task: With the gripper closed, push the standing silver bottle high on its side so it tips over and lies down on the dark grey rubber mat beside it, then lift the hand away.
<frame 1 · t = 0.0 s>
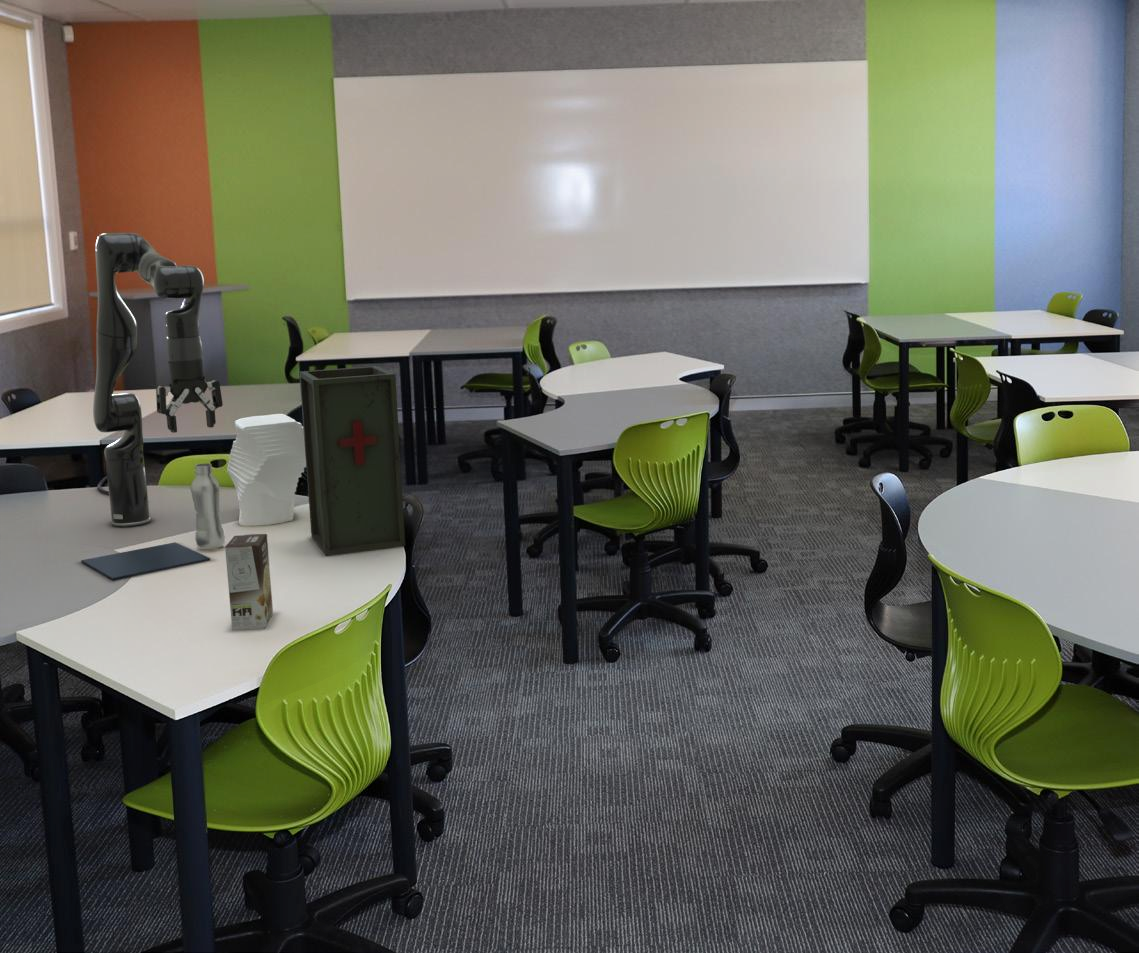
hand: (192, 429, 272), 29 cm above the table, tool pointing down, fingers open, 8 cm apart
rubber mat: (145, 561, 275), on the table
paper stack: (274, 516, 316), on the table
silver bottle: (211, 549, 285), on the table
coffee box: (253, 623, 230), on the table
first aid box: (357, 542, 287), on the table
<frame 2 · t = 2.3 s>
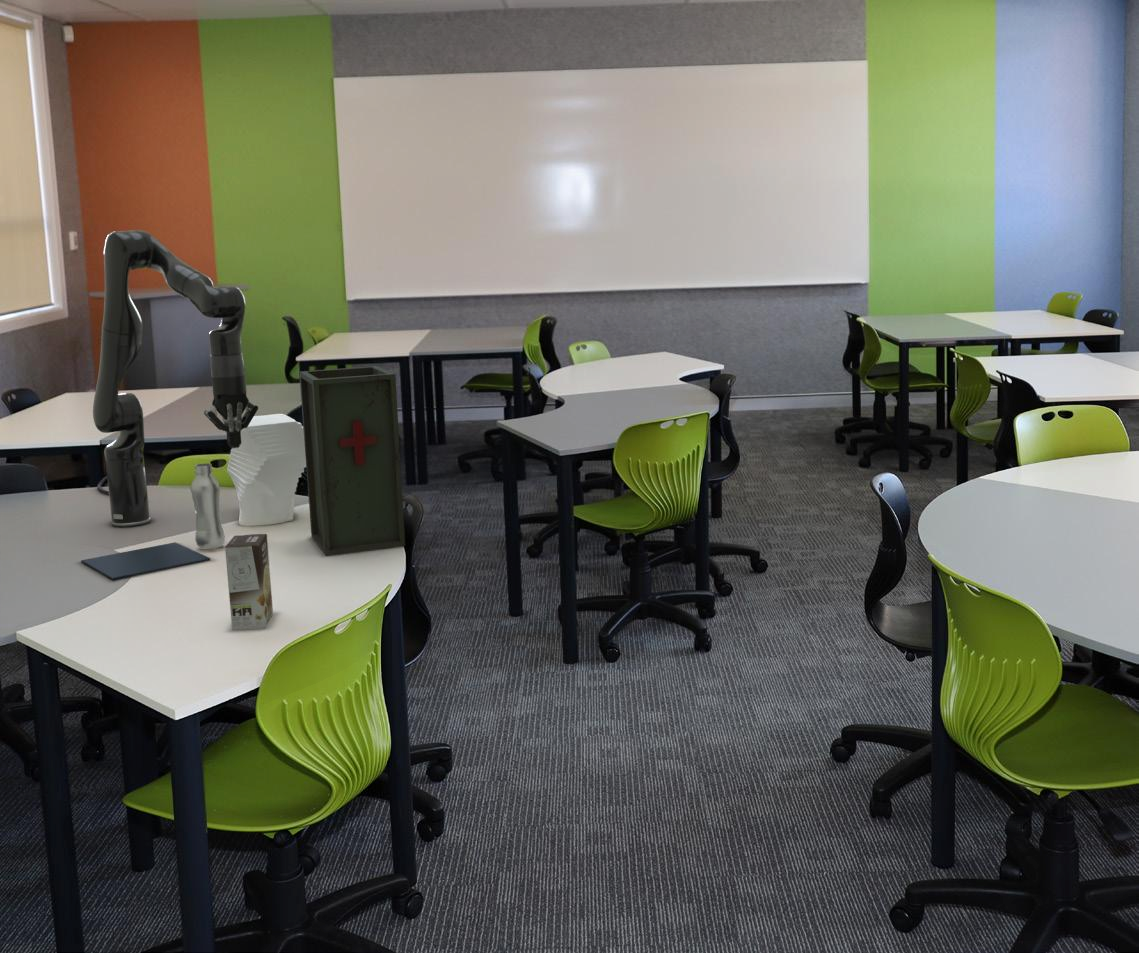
hand: (234, 447, 285), 23 cm above the table, tool pointing down, fingers closed
nothing on the table moved.
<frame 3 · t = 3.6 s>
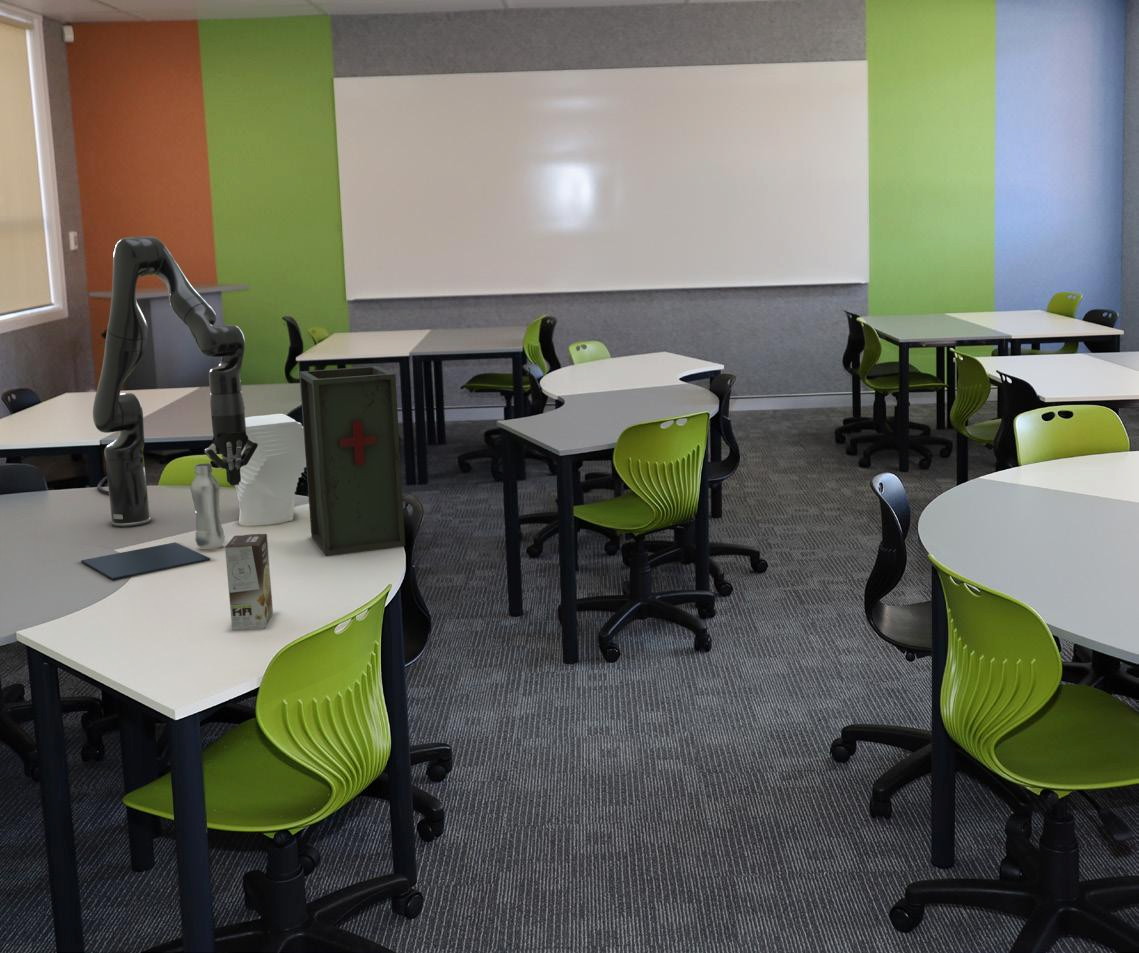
hand: (234, 484, 286), 14 cm above the table, tool pointing down, fingers closed
nothing on the table moved.
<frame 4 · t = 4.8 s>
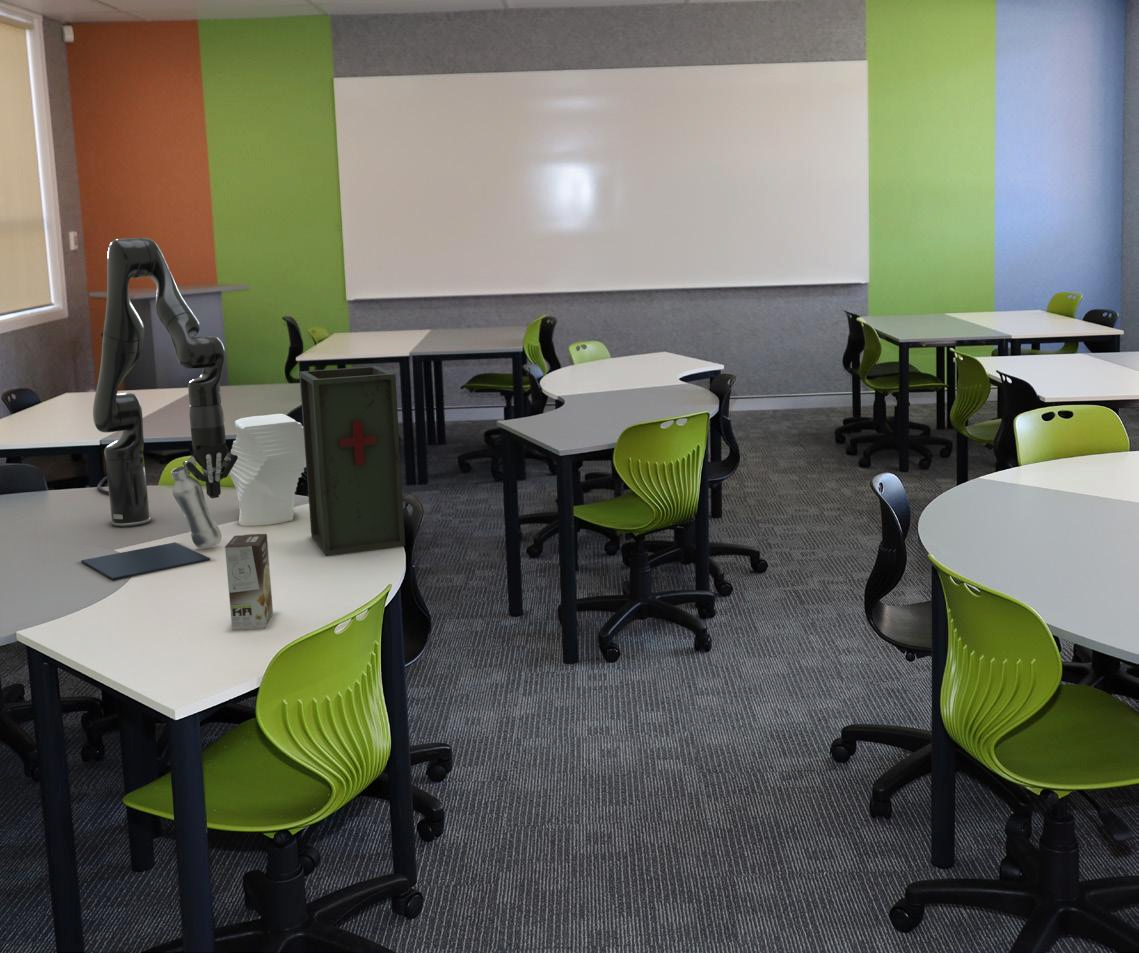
hand: (214, 497, 283), 12 cm above the table, tool pointing down, fingers closed
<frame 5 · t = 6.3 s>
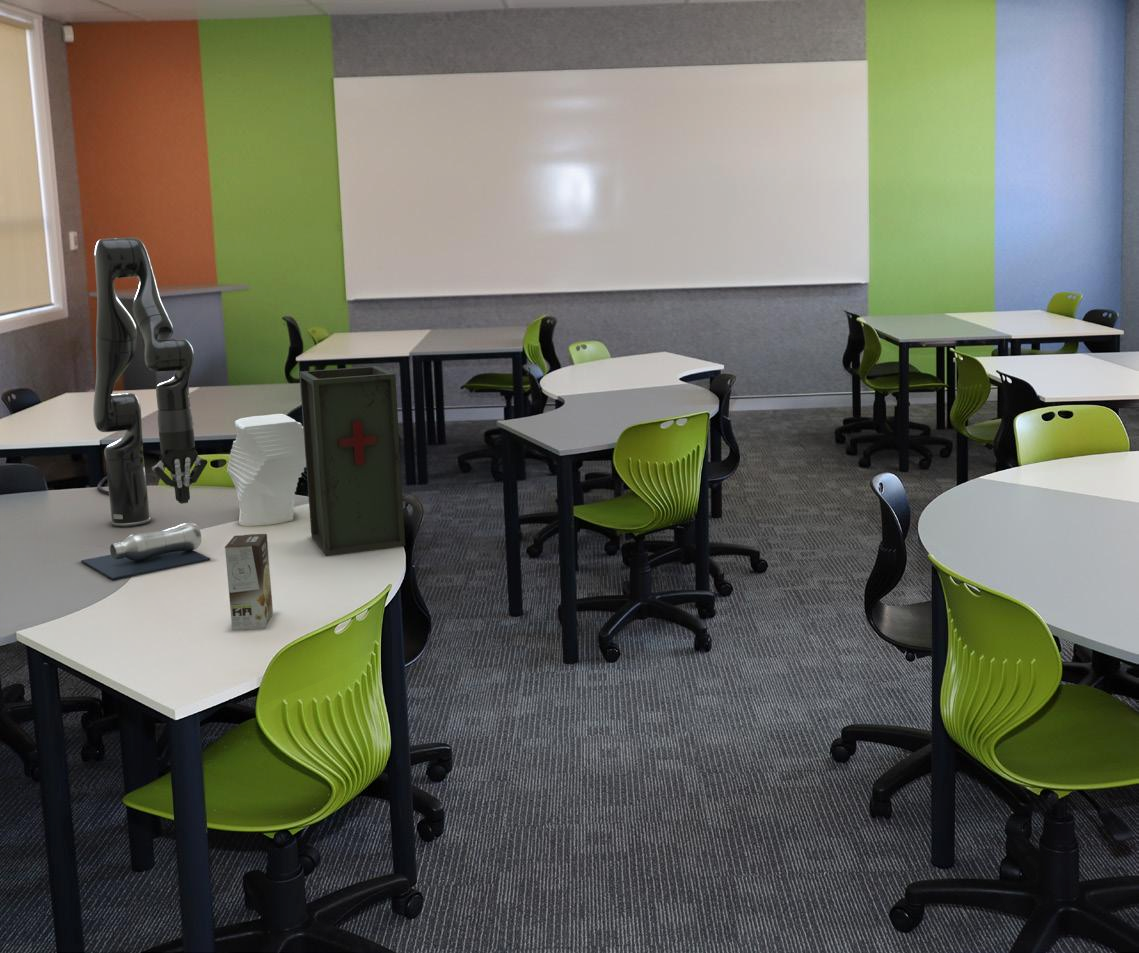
hand: (183, 502, 279), 12 cm above the table, tool pointing down, fingers closed
silver bottle: (199, 534, 282), point 4 cm above the table, touching rubber mat
everything else where it was.
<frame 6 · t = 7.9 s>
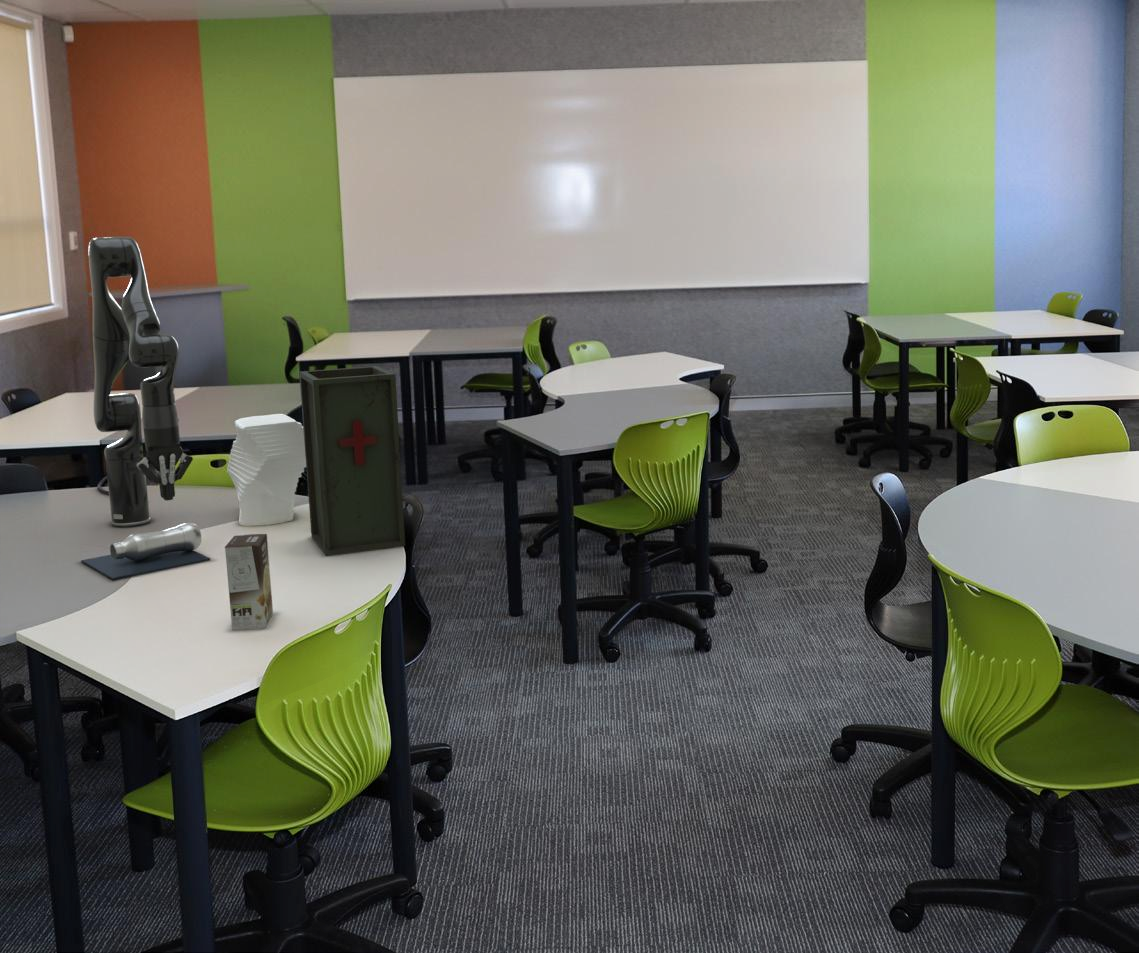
hand: (168, 499, 276), 13 cm above the table, tool pointing down, fingers closed
nothing on the table moved.
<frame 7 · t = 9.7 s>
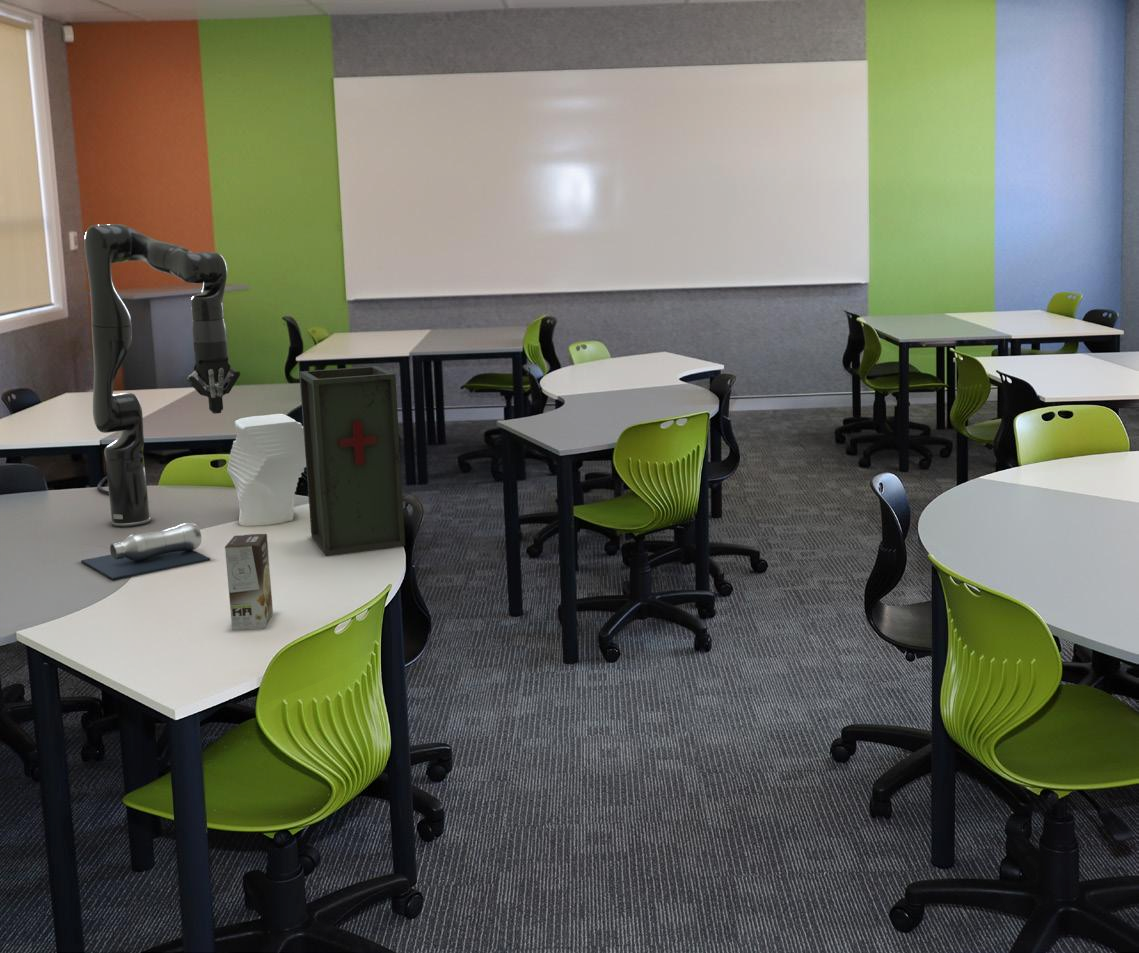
hand: (216, 413, 287), 31 cm above the table, tool pointing down, fingers closed
nothing on the table moved.
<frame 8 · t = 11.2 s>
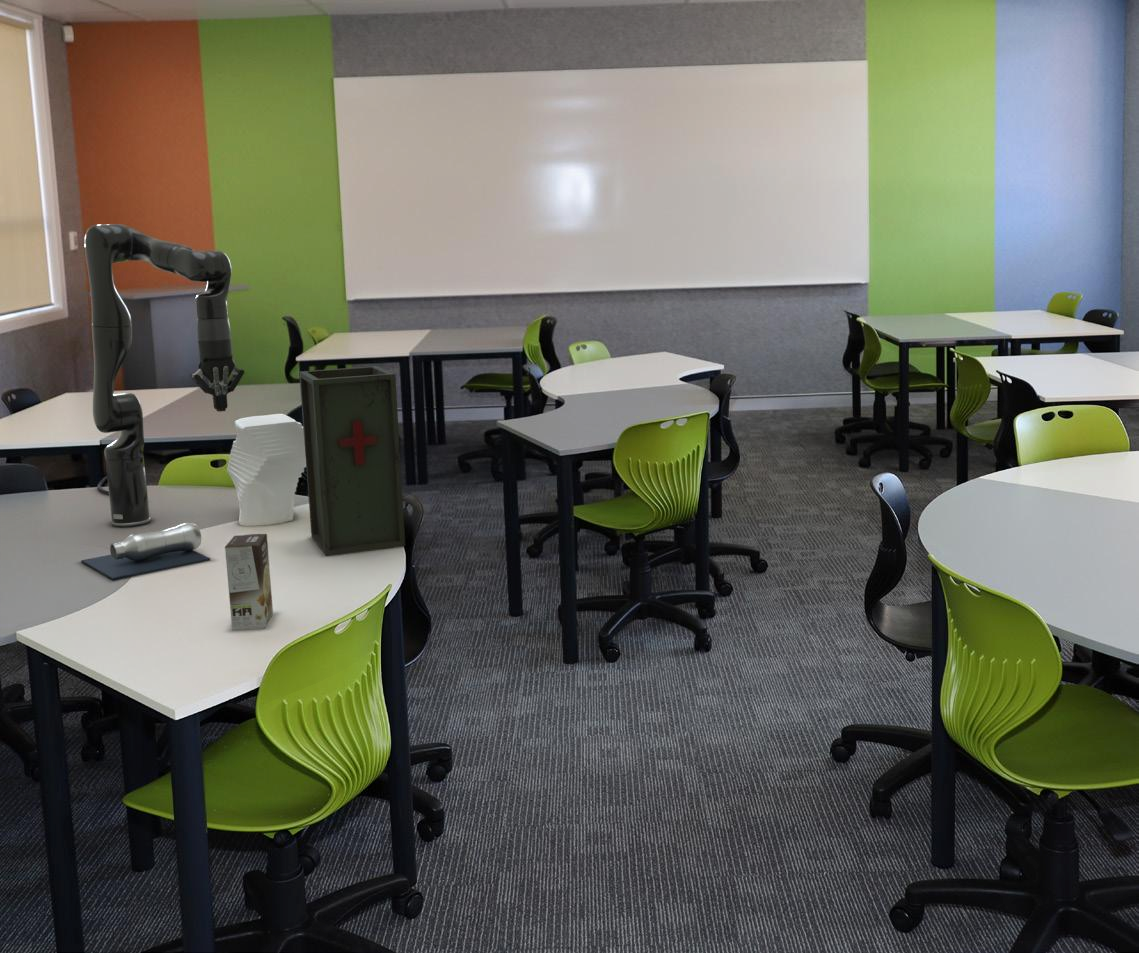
hand: (220, 410, 288), 31 cm above the table, tool pointing down, fingers closed
nothing on the table moved.
at the end: silver bottle tilted 90°; silver bottle inside the target area (10.0 cm from its centre), point 3.8 cm above the table; silver bottle touching rubber mat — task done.
